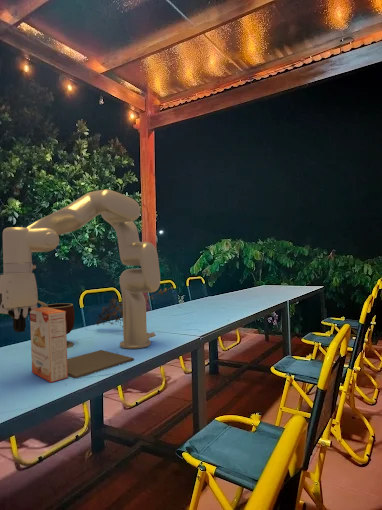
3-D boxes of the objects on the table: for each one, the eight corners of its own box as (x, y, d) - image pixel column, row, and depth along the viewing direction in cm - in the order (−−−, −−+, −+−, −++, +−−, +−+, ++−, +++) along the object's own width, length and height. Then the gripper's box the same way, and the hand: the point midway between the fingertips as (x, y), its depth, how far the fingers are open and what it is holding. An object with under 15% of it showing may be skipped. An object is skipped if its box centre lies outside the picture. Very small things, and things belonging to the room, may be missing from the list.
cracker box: (30, 373, 115) (28, 308, 115) (49, 368, 119) (47, 306, 119) (49, 383, 105) (47, 312, 105) (68, 378, 109) (66, 310, 109)
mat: (101, 352, 139) (101, 349, 139) (133, 360, 127) (133, 357, 127) (44, 367, 121) (44, 365, 121) (76, 378, 109) (76, 376, 109)
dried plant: (67, 298, 172) (138, 257, 155) (109, 296, 200) (174, 261, 182) (85, 359, 164) (161, 324, 147) (126, 348, 192) (195, 318, 174)
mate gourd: (74, 340, 159) (73, 295, 159) (76, 348, 146) (75, 299, 146) (36, 344, 153) (35, 298, 153) (35, 352, 140) (33, 301, 140)
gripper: (36, 268, 114) (37, 325, 114) (-15, 270, 102) (-13, 334, 102) (48, 268, 109) (50, 328, 109) (-4, 270, 97) (-2, 338, 97)
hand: (19, 331), depth 106 cm, fingers closed
